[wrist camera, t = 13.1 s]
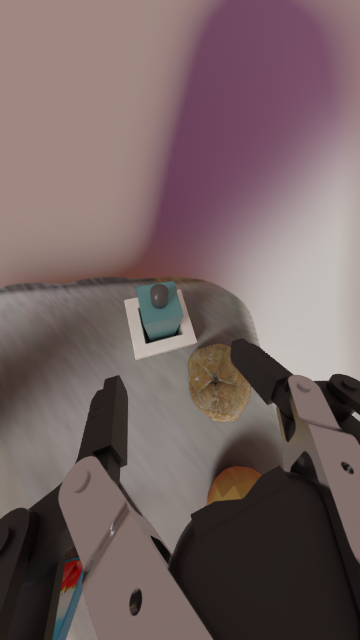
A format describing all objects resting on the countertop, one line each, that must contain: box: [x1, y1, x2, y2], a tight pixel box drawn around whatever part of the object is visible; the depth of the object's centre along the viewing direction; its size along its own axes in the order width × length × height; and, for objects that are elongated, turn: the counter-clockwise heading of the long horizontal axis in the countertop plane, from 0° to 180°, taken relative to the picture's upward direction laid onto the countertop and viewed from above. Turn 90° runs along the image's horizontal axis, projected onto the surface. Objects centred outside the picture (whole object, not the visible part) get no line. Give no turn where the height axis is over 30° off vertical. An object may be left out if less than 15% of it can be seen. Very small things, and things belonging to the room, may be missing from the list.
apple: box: [206, 466, 262, 506], centre depth 16 cm, size 10×10×8 cm
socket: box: [124, 289, 197, 360], centre depth 23 cm, size 9×9×4 cm
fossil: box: [188, 344, 251, 422], centre depth 21 cm, size 9×4×10 cm
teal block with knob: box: [135, 281, 184, 341], centre depth 19 cm, size 4×4×13 cm
